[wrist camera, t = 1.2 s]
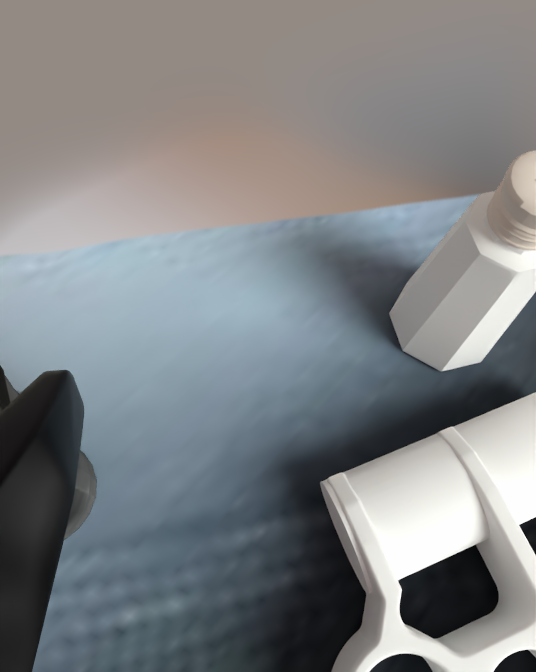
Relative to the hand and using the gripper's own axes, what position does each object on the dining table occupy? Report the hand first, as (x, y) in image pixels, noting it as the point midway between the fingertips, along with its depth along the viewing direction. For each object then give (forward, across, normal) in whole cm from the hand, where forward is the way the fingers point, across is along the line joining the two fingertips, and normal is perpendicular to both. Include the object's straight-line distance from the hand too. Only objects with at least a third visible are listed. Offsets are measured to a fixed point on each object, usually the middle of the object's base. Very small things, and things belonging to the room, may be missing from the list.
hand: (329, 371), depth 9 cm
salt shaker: (+13, -8, +10) cm, 19 cm away
